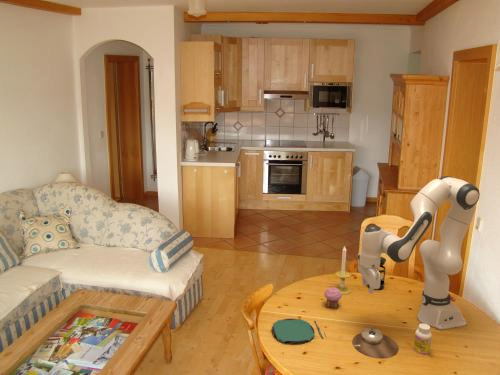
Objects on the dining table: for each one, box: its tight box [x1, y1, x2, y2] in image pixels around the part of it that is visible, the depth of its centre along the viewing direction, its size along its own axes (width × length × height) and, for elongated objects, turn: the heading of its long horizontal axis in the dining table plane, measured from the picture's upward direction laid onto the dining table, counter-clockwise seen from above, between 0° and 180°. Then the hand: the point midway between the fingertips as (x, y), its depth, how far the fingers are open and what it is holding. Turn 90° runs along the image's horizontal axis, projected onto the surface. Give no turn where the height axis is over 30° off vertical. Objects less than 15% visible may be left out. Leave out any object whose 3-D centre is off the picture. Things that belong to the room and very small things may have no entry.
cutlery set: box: [271, 318, 327, 344], centre depth 214 cm, size 20×30×2 cm, turn 97°
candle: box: [334, 245, 352, 295], centre depth 252 cm, size 10×10×27 cm
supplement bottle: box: [413, 323, 433, 356], centre depth 197 cm, size 7×7×13 cm
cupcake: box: [324, 286, 343, 309], centre depth 237 cm, size 9×9×10 cm
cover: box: [361, 327, 384, 345], centre depth 206 cm, size 9×9×3 cm
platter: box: [351, 332, 400, 360], centre depth 202 cm, size 20×20×1 cm
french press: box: [367, 256, 387, 291], centre depth 257 cm, size 12×9×23 cm
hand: (367, 288), depth 210 cm, fingers open, 7 cm apart
